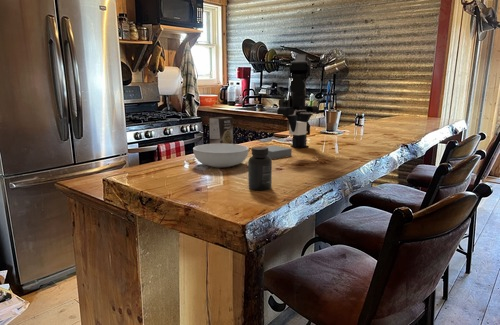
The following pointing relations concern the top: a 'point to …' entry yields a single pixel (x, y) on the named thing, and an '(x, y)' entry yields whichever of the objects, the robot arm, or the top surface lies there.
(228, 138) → the coffee box
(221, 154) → the serving bowl
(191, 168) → the top surface
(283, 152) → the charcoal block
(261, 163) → the supplement bottle
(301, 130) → the cream cube
